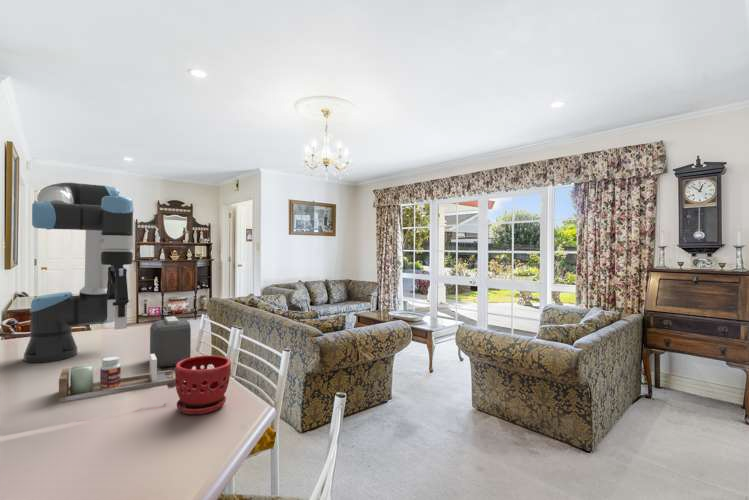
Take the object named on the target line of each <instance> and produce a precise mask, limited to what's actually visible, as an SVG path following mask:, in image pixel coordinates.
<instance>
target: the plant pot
mask: <svg viewBox="0 0 749 500" xmlns="http://www.w3.org/2000/svg"><path fill="white" fill-rule="evenodd" d="M209 365H212V366H213V367H214V368H208V367H209ZM202 366H203V368H201V367H202ZM231 366H232V361H231V359H229V358H228V357H225V356H220V355H199V356H197V355H196V356H190V358H187V359H184V360H181V361H180V362H178V363H177V364H176V365H175V373H174V374H175V375H174V376H175V377H174V378H175V383H176V386H175V389H176V393H177V397H178V398H179V399H178V400H177V402H176V408H177V409H178V410H179V411H180V412H181V413H183V414H186V415H202V414H208V413H212V412H214V411H216V410H218V409H220V408H222V407H223V406H224V404H225V403H226V401H227V398H226V396H225V394H226V392H227V390H228V387H229V383H230V379H231V372H232V371H231V370H232V369H231ZM193 367H195V369H192V368H193Z"/></svg>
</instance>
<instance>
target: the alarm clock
mask: <svg viewBox="0 0 749 500" xmlns="http://www.w3.org/2000/svg"><path fill="white" fill-rule="evenodd" d="M191 330H192V329H191V324H190V322H189V321H188V319H186V318H185V317H181V318H177V317H176V316H174V315H172V316H166V317H164V319H158V320H156V321H154V322H153V323H151V325H150V329H149V331H150V332H149V355H150V354H155V356H156V358H157V367H159V368H166V367H167V368H168V367H173V366H175V367H176V364H177V363H178V362H180V361H181V360H184V359H187V358H191V345H192V343H191V341H192V340H191V337H192V333H191V332H192V331H191Z"/></svg>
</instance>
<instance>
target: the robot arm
mask: <svg viewBox="0 0 749 500" xmlns="http://www.w3.org/2000/svg"><path fill="white" fill-rule="evenodd" d="M134 211H135V209H134V203H133V199H132V198H130V197H127V196H122V194H121V192H120V190H119V189H118V188H117V187H115V186H110V185H108V186H107V185H105V184H104V185H102V184H101V185H98V184H90V183H89V184H88V183H77V182H76V183H75V182H58V183H54V184H50V185H47V186H45V187H44V188H42V189H40V191H39V193H38V194H37V199H36V201H33V202H32V205H31V225H32V227H33V228H35V229H43V230H44V229H45V230H71V231H72V230H73V231H76V230H77V231H85V242H84V243H85V246H84V247H85V248H84V249H85V250H84V253H85V254H84V286H83V287H82V288H81V289H79V293H78V294H77V295H73V293H72V291H67V292H66V291H65V292H55V293H49V294H44V295H40V296H37V297H34V298H33V299H32V300H31V301H30V309H29V313H30V338H29V341H28V343H27V346H26V348H25V351H24V353H23V362H25V363H31V364H32V363H34V364H37V363H48V362H55V361H61V360H66V359H69V358H72V357H75V356H77V355H78V345H77V343H76V341H75V339H74V336H73V334H72V333H73V331H72V329H73V328H72V327H80V326H90V325H92V326H93V325H104V324H109V323H110V324H111V323H114V330H124V329H127V328H128V325H127V324H128V304H129V302H130V301H129V291H128V280H127V279H128V278H127V277H128V276H127V271H128V270H127V268H126V267H125V266H126V265H129V266H130V265H133V262H134V261H133V258H134V253H133V252H132V250H133V249H134V236H133V235H134V233H133V227H134V226H133V225H134V224H133V223H134V222H133V221H134ZM124 265H125V266H124Z"/></svg>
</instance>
